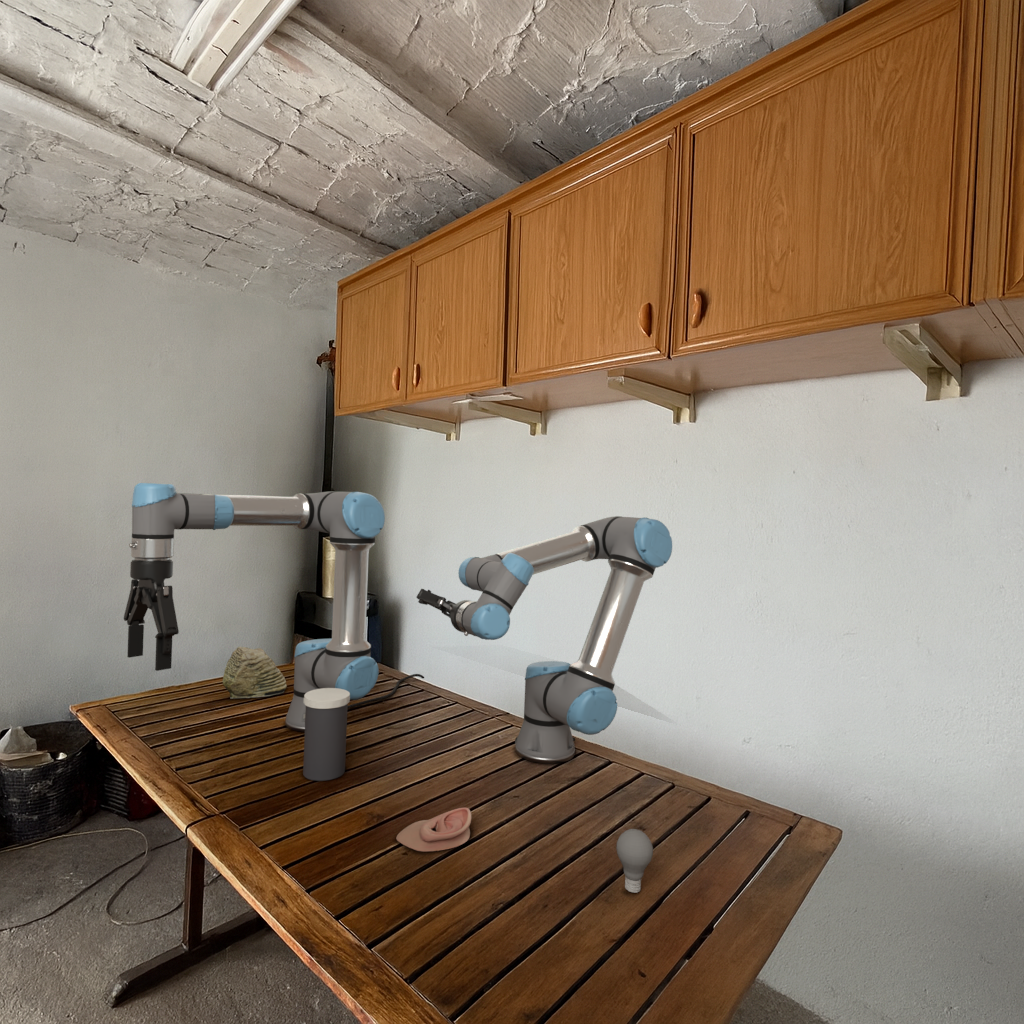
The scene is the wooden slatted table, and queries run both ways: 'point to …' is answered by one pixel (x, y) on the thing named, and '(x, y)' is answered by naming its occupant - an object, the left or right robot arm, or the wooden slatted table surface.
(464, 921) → the wooden slatted table surface
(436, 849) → the anatomical model
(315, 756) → the jar
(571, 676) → the right robot arm
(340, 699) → the lid
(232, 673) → the fossil
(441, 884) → the wooden slatted table surface
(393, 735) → the wooden slatted table surface
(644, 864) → the light bulb
